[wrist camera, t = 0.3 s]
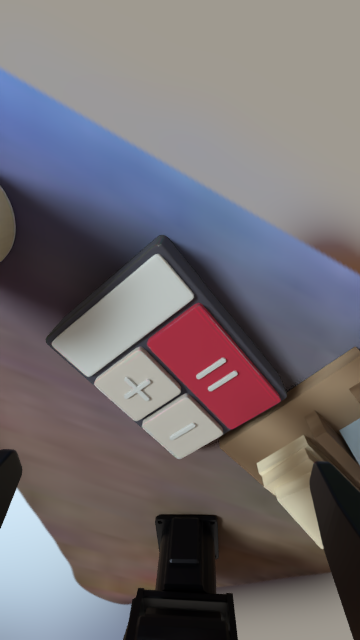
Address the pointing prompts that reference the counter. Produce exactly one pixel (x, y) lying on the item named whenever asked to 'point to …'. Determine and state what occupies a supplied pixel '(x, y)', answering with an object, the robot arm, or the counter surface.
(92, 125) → the counter surface
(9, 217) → the coffee cup
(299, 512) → the offcut stack
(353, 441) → the light blue brick
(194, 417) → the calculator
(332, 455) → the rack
